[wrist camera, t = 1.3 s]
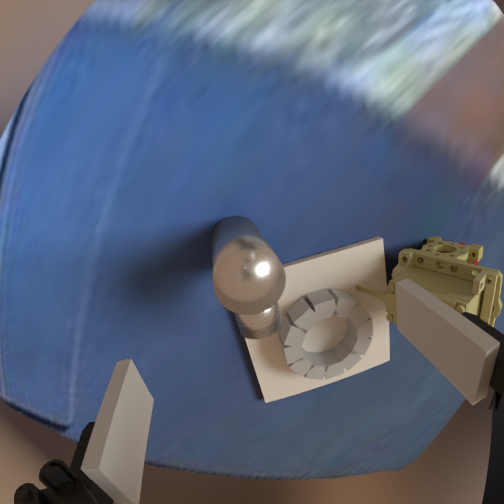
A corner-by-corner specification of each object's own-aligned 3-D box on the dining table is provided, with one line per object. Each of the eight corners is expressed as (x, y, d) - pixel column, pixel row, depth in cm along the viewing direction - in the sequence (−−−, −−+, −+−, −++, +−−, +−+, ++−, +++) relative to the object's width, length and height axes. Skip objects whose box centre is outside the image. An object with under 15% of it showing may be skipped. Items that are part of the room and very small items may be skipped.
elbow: (206, 223, 32) (204, 258, 21) (253, 210, 33) (277, 238, 21) (225, 289, 35) (234, 351, 23) (270, 277, 35) (298, 333, 24)
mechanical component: (416, 270, 46) (529, 302, 29) (343, 315, 38) (489, 377, 21) (416, 222, 43) (538, 245, 27) (340, 255, 35) (509, 303, 19)
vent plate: (227, 279, 34) (229, 294, 31) (378, 236, 35) (396, 245, 31) (264, 398, 40) (269, 418, 36) (386, 356, 41) (399, 372, 37)
